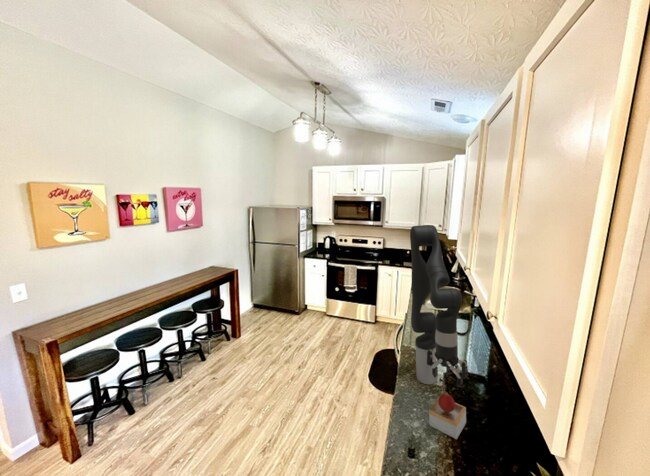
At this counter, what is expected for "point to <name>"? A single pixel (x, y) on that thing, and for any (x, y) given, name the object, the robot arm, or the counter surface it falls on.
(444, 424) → the wooden tray
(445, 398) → the onion
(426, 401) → the counter surface
